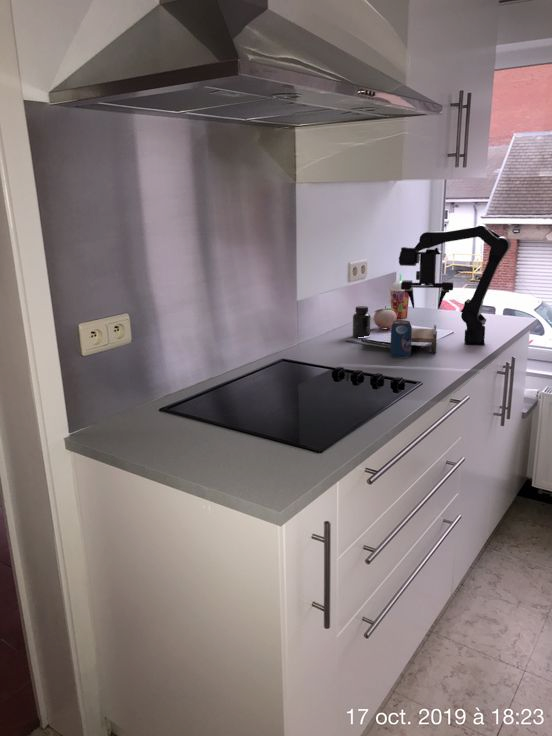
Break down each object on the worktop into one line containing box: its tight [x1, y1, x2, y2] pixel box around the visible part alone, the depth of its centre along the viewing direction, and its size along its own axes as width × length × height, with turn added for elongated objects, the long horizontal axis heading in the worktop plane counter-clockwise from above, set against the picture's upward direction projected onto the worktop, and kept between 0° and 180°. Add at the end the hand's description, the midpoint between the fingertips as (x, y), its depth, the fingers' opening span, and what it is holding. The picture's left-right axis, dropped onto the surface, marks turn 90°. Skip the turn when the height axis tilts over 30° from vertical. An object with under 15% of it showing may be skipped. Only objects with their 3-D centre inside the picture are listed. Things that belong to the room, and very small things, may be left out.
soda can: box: [389, 319, 413, 359], centre depth 211 cm, size 7×7×12 cm
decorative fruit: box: [373, 305, 397, 329], centre depth 251 cm, size 9×8×10 cm
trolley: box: [411, 324, 438, 354], centre depth 222 cm, size 13×17×7 cm
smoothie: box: [390, 273, 410, 320], centre depth 269 cm, size 8×8×20 cm
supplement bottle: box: [352, 305, 371, 339], centre depth 240 cm, size 7×7×12 cm
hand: (426, 308), depth 232 cm, fingers open, 9 cm apart
